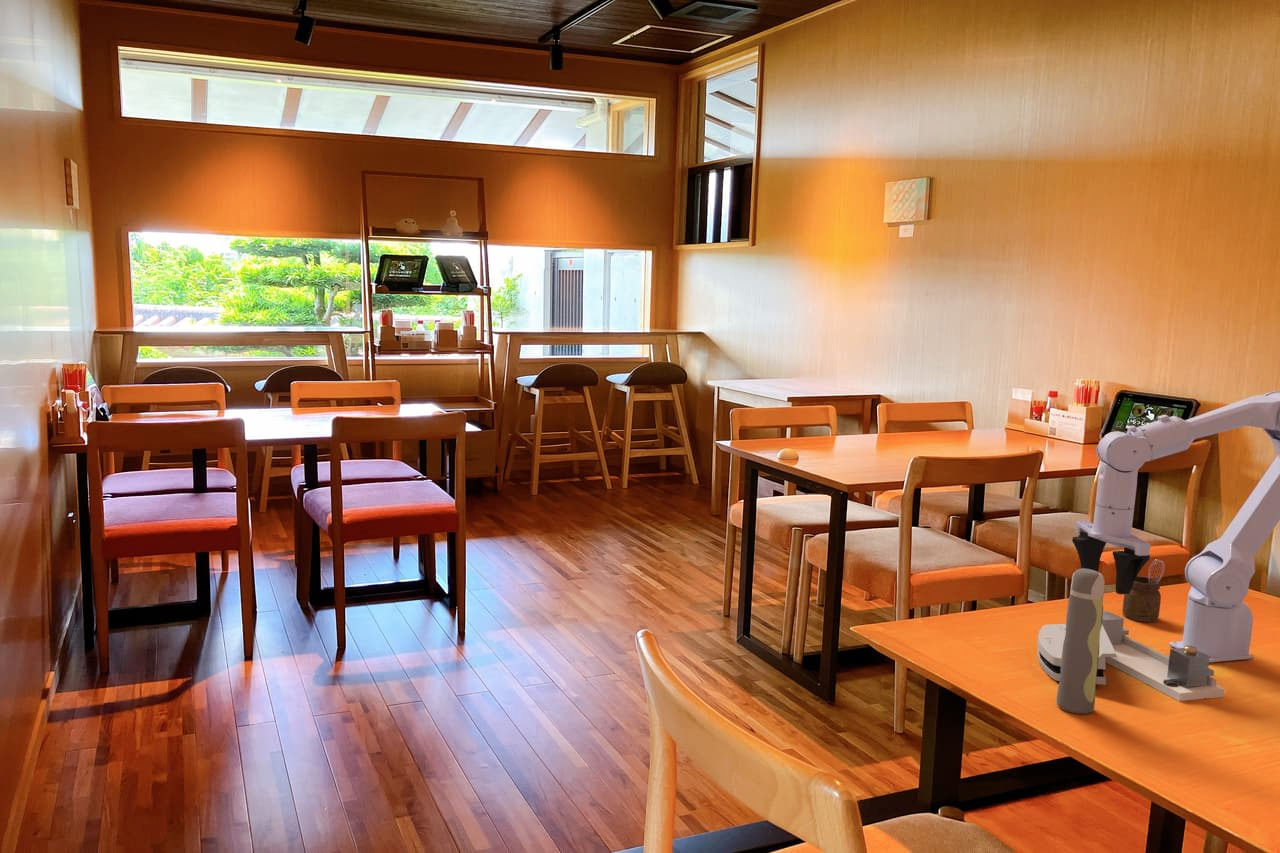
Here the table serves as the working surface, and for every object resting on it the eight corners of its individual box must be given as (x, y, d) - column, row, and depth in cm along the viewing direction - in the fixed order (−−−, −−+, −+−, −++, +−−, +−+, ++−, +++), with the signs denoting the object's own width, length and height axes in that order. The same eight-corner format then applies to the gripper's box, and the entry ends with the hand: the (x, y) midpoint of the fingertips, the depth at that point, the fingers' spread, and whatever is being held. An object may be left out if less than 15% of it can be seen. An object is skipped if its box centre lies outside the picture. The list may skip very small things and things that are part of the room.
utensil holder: (1160, 625, 175) (1168, 559, 173) (1121, 619, 177) (1128, 554, 175) (1156, 615, 180) (1163, 551, 179) (1118, 609, 183) (1125, 546, 181)
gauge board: (1074, 645, 163) (1077, 613, 162) (1114, 642, 165) (1118, 610, 165) (1179, 701, 142) (1183, 664, 142) (1223, 696, 144) (1228, 660, 144)
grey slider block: (1156, 678, 147) (1160, 644, 146) (1196, 674, 149) (1200, 641, 148) (1175, 688, 143) (1179, 653, 143) (1216, 684, 145) (1220, 650, 144)
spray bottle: (1100, 710, 138) (1115, 572, 135) (1082, 718, 135) (1098, 578, 132) (1066, 698, 142) (1081, 563, 139) (1049, 706, 139) (1063, 569, 136)
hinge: (1116, 654, 144) (1042, 653, 147) (1117, 685, 144) (1044, 683, 147) (1098, 616, 160) (1032, 615, 162) (1099, 644, 160) (1033, 643, 163)
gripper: (1063, 496, 167) (1055, 574, 169) (1127, 517, 153) (1118, 601, 155) (1098, 495, 169) (1089, 572, 171) (1164, 515, 155) (1154, 599, 157)
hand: (1105, 586), depth 163 cm, fingers open, 7 cm apart
